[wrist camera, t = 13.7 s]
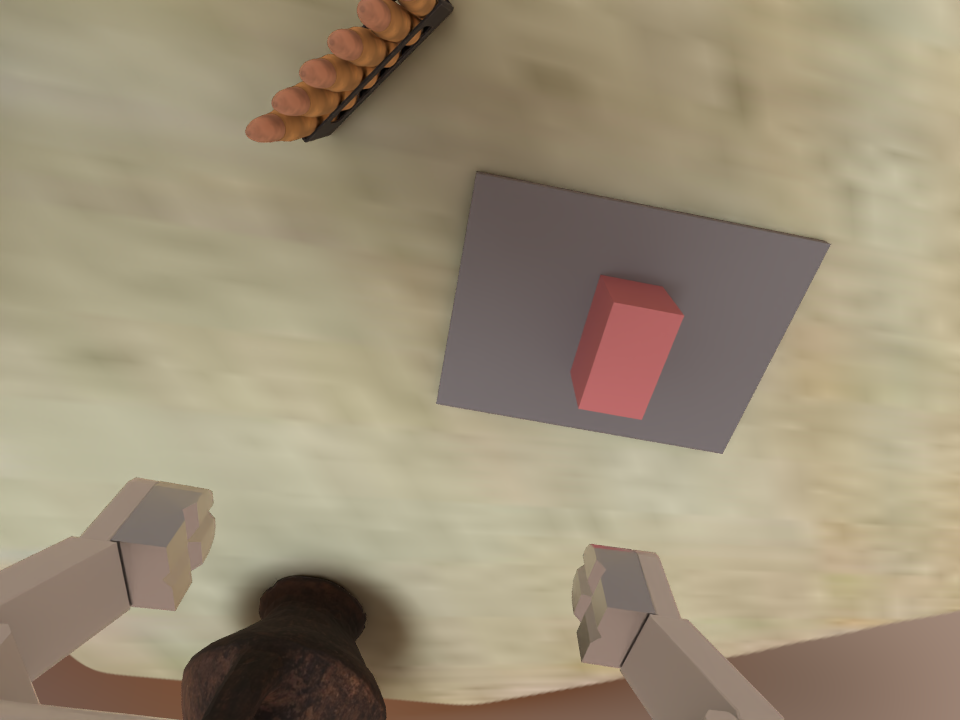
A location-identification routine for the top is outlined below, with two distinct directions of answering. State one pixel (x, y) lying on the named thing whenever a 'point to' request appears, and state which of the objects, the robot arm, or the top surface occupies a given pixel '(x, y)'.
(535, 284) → the mat
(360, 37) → the ammunition clip
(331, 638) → the jug
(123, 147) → the top surface
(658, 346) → the red rectangular block
